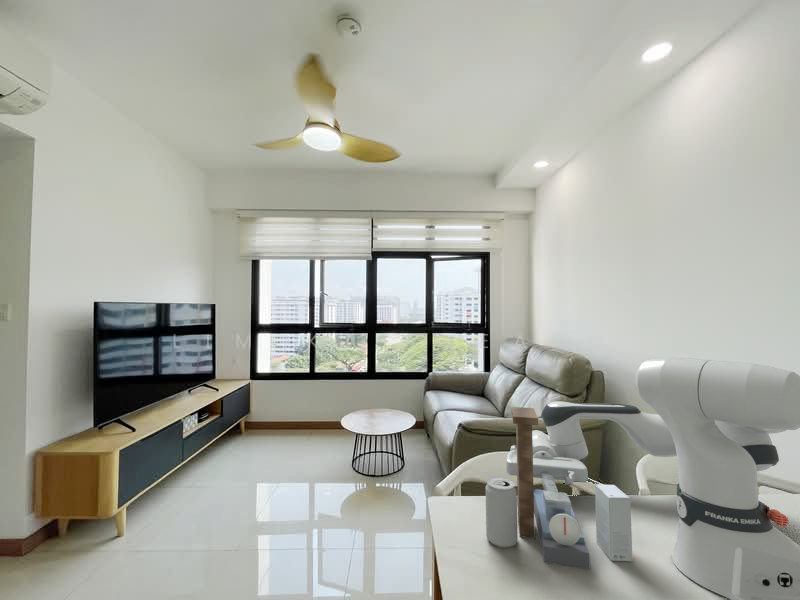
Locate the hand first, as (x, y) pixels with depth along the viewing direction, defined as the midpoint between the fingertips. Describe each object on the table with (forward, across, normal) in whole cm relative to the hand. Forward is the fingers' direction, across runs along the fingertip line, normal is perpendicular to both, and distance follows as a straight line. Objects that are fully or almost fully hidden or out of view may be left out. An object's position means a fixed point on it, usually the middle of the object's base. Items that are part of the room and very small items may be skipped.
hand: (549, 480), depth 89 cm
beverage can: (+17, +12, -7) cm, 22 cm away
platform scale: (+11, 0, -6) cm, 13 cm away
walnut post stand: (+13, +7, -6) cm, 16 cm away
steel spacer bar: (+4, 0, -2) cm, 5 cm away
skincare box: (+15, -10, -7) cm, 19 cm away
